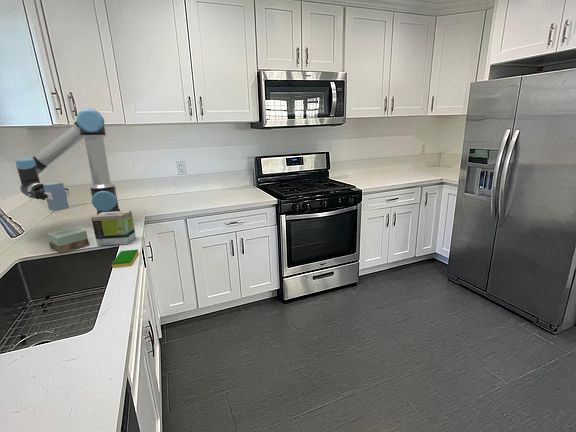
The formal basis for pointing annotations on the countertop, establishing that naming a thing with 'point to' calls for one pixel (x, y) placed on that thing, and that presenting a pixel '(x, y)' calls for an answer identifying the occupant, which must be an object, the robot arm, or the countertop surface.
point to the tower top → (67, 236)
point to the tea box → (113, 228)
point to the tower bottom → (70, 246)
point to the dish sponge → (125, 258)
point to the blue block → (56, 196)
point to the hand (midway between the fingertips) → (59, 195)
